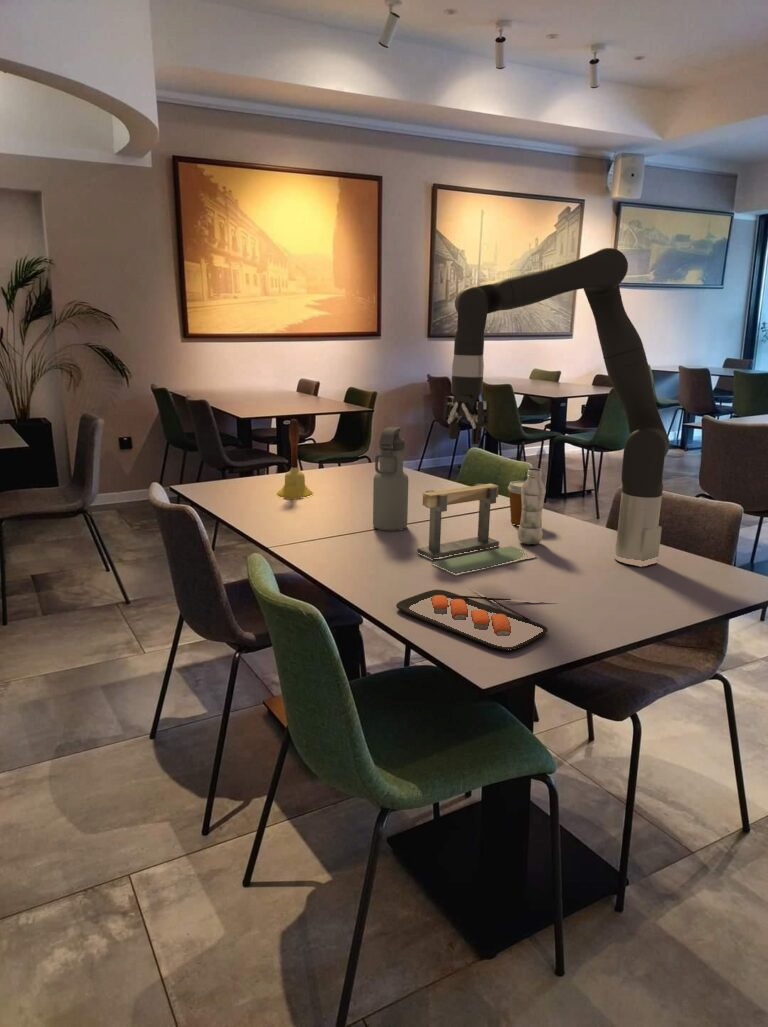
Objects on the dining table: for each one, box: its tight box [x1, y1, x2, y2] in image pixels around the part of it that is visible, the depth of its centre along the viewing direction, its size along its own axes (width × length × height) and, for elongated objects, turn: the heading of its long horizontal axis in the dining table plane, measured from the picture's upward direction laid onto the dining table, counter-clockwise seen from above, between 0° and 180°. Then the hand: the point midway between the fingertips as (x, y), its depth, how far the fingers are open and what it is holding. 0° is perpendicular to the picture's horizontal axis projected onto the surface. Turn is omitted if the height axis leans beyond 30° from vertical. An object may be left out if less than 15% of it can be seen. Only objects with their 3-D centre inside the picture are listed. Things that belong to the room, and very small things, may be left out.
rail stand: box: [416, 482, 500, 559], centre depth 182 cm, size 6×22×16 cm, turn 124°
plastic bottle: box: [517, 467, 547, 545], centre depth 188 cm, size 6×7×20 cm
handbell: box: [276, 418, 314, 499], centre depth 237 cm, size 12×12×25 cm
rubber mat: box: [431, 545, 528, 574], centre depth 176 cm, size 9×26×1 cm, turn 124°
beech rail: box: [422, 483, 500, 509], centre depth 180 cm, size 3×22×3 cm, turn 124°
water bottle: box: [372, 426, 409, 531], centre depth 200 cm, size 10×10×28 cm
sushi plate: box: [395, 589, 548, 651], centre depth 145 cm, size 29×30×4 cm
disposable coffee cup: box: [507, 480, 526, 525], centre depth 208 cm, size 10×10×12 cm
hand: (464, 441), depth 177 cm, fingers open, 8 cm apart
